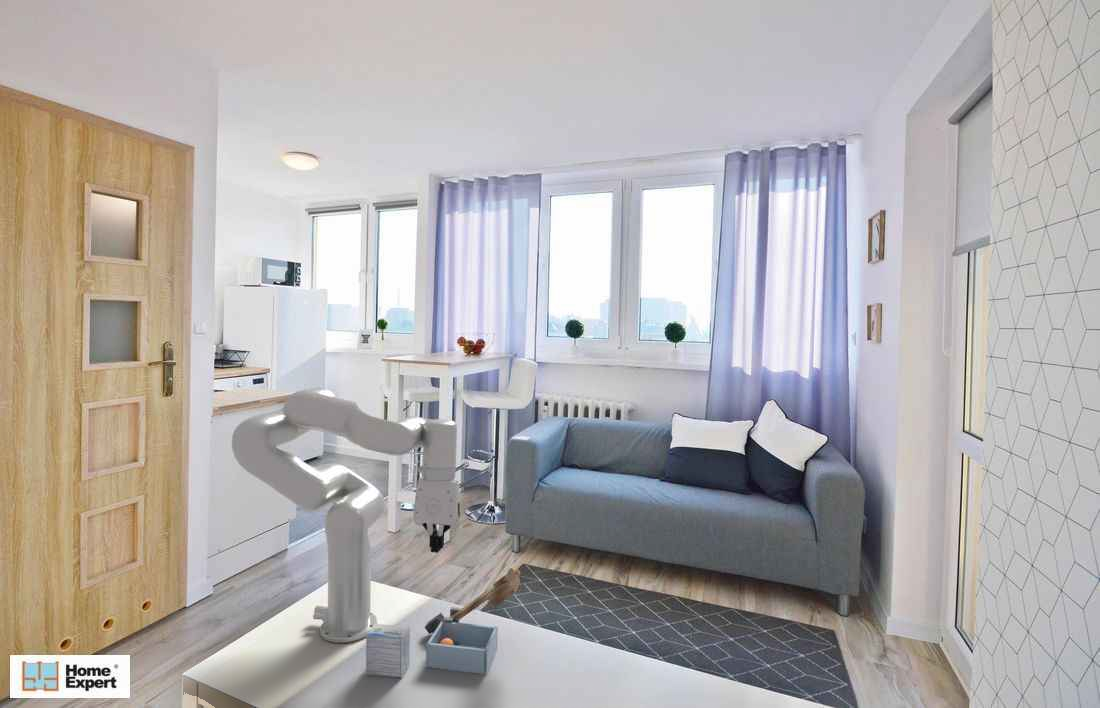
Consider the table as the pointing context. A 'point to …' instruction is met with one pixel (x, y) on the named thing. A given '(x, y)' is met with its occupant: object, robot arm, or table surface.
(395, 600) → the table surface
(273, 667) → the table surface
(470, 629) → the bin
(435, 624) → the lever
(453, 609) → the fulcrum
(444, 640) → the ball
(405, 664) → the medicine box
